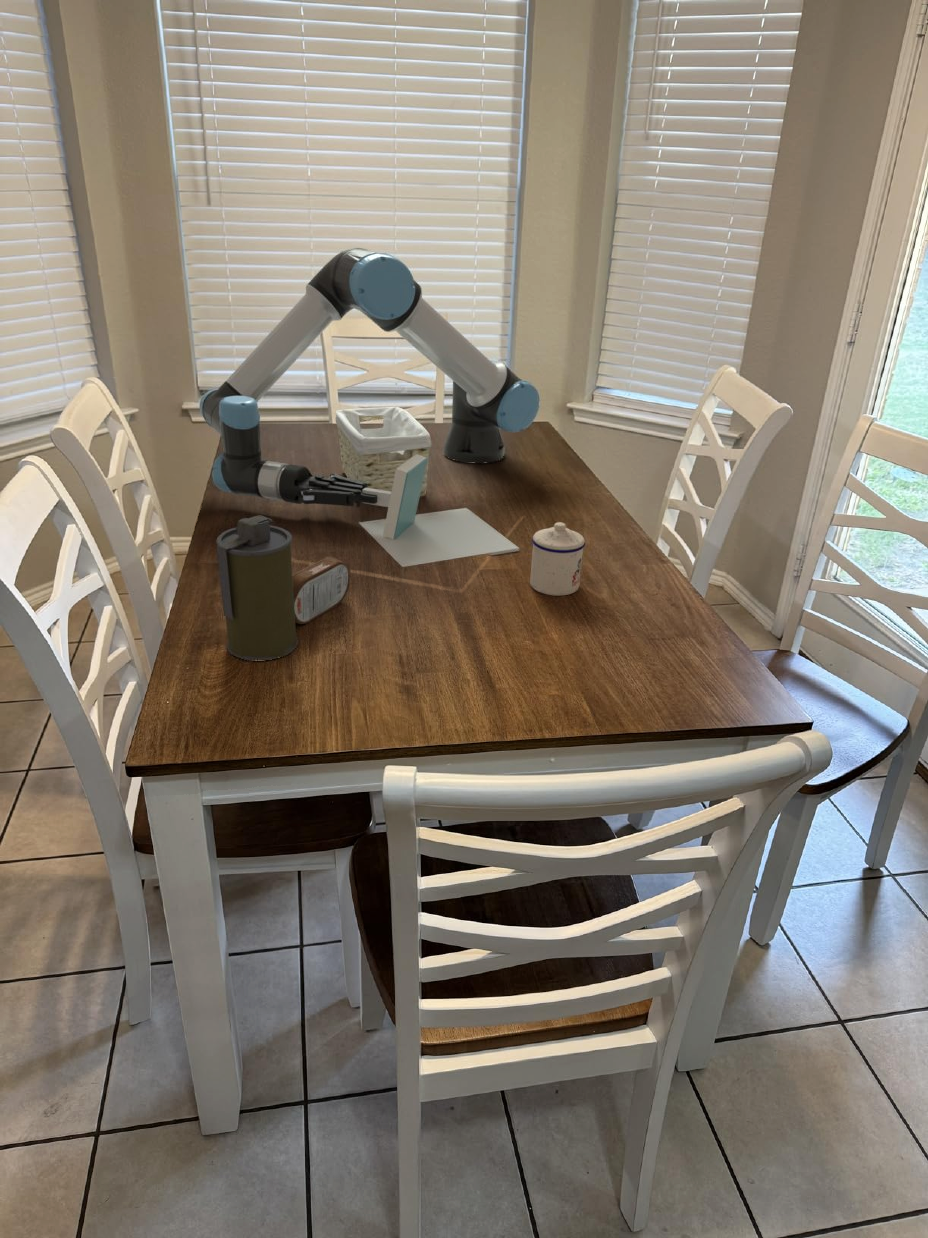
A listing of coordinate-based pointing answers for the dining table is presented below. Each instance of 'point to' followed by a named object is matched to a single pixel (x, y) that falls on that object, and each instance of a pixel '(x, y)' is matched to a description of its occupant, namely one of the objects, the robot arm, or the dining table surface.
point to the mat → (441, 538)
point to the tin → (319, 588)
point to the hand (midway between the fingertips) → (394, 500)
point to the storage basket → (380, 445)
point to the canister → (257, 589)
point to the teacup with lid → (556, 560)
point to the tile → (405, 496)
